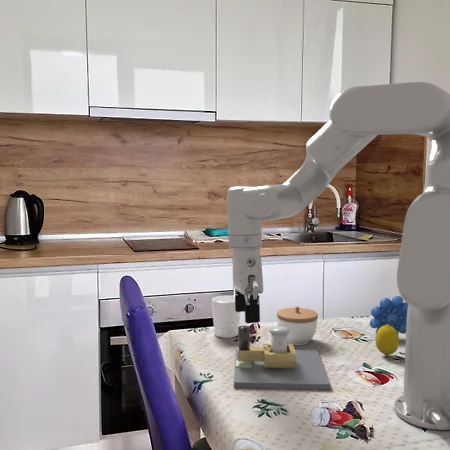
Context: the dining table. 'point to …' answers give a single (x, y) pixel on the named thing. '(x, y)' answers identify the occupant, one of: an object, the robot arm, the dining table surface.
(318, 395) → the dining table surface
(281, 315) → the lidded jar
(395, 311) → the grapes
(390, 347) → the lemon
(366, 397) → the dining table surface
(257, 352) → the tan peg holder
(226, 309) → the white cup
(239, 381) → the post base
